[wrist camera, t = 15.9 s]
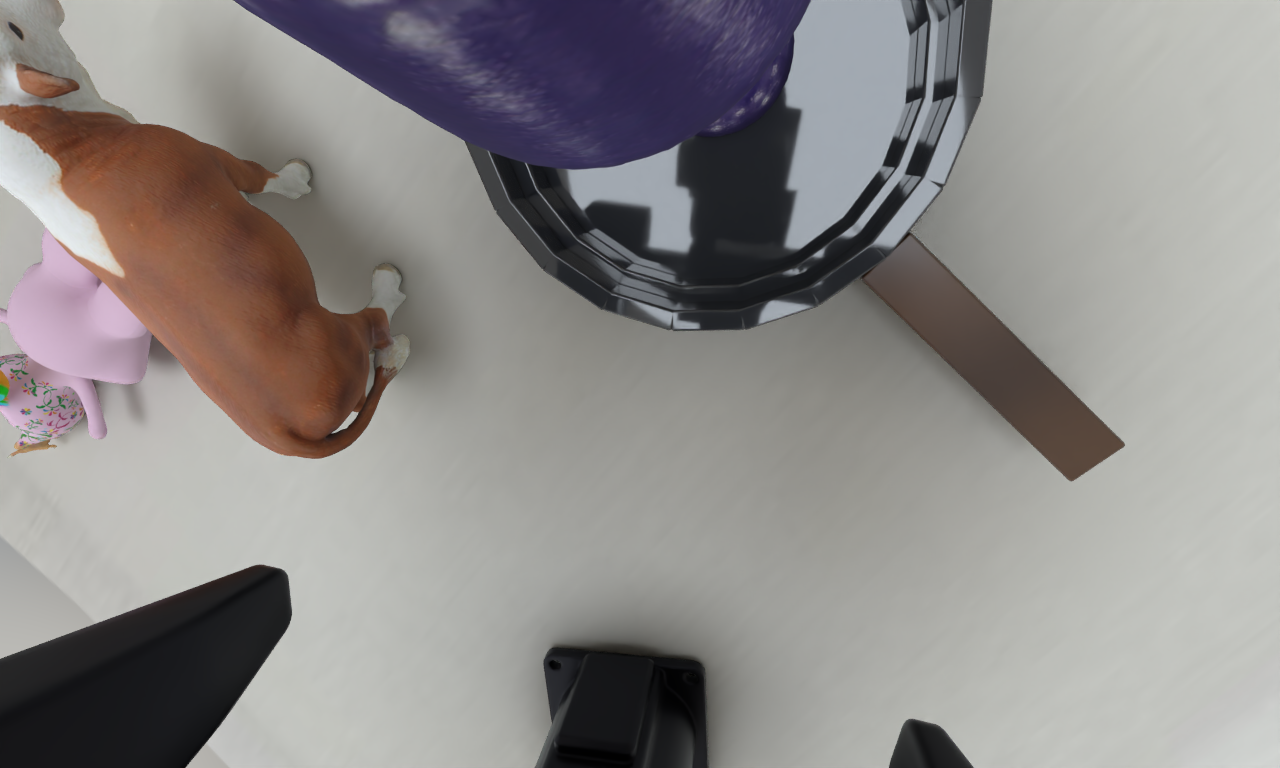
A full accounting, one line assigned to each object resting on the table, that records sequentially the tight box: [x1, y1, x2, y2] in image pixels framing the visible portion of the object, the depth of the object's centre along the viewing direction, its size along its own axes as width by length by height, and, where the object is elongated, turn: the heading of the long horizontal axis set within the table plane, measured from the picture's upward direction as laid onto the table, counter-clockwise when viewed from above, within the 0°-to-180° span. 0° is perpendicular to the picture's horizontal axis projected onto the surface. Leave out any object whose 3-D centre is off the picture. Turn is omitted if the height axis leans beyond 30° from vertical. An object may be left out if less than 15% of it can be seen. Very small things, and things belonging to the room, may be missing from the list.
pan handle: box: [860, 232, 1125, 481], centre depth 17 cm, size 8×2×1 cm, turn 49°
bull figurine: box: [0, 0, 410, 459], centre depth 18 cm, size 4×13×8 cm, turn 32°
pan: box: [465, 0, 993, 331], centre depth 17 cm, size 13×13×3 cm
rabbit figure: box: [0, 228, 152, 458], centre depth 22 cm, size 6×6×15 cm
